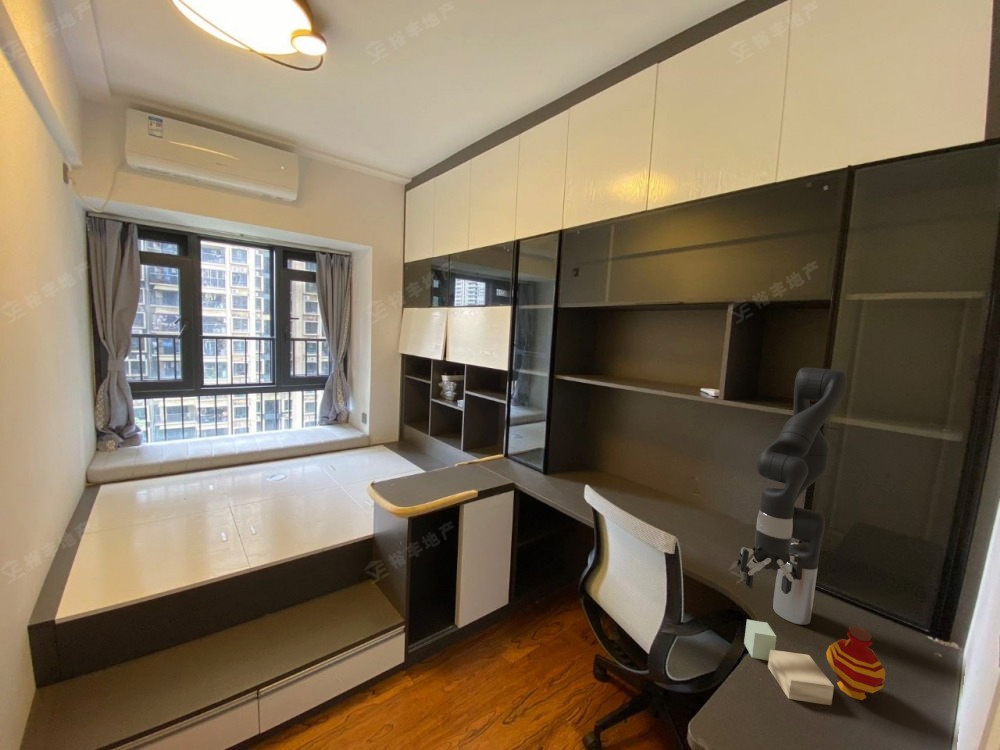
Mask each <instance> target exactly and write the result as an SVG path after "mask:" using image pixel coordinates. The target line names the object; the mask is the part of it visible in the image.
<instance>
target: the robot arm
mask: <svg viewBox="0 0 1000 750" xmlns="http://www.w3.org/2000/svg"><path fill="white" fill-rule="evenodd" d="M847 384H848V381H847V375H846V373H845V372H844V371H842V370H838V369H832V368H831V369H830V368H820V367H819V368H818V367H801V368H800V369H799V370H798V372H797V373H796V376H795V380H794V386H793V389H794V390H793V412H792V417H790V418H789V419H788V420H787V421H786V422H785V424H784V425H783V427H782V429H781V431H780V433H779V435H778V437H777V439H775V440H774V441H773V442H772V443H771V444H769V446H767V447H766V448H765V449H764V450H763V451H762V452H761V453H760V454H759V456H758V457H757V460H756V463H755V467H756V471H757V473H758V475H759V476H761V477H762V478H765V479H768V480H772V481H774V482H775V481H776V482H778V483H782V484H784V488H777V487H776V488H775V487H765V488H764V489H762V491H761V495H760V503H759V511H758V514H757V518H756V526H755V533H754V534H755V535H754V546H753V547H752V548H748V547H746V546H744V545H741V546H740V547H739V550H738V551H739V552H738V557H737V562H736V566H737V568H738V569H739V570H740V572H742V573H744V575H743V582H744V583H743V584H745V586H746V587H747V588H748V589H751V590H752V589H753V583H754V574H755V573H756V572H759V571H761V570H762V569H765V570H774V571H777V573H776V574H777V575H776V576H775V577H776V578H775V585H774V590H773V591H774V594H773V599H772V603H773V606H772V607H773V608H772V609H773V611H774V612H775V614H777V615H778V616H779V617H780V618H782V619H784V620H785V621H788V622H790V623H793V624H796V625H802V626H803V625H809V624H810V623H811V618H812V612H813V605H814V599H815V590H816V584H817V583H816V582H817V576H818V568H819V560H820V554H821V548H822V542H823V539H824V534H825V529H826V525H825V524H826V522H825V521H826V520H825V516H824V515H823V514H822V513H821V512H819V511H815V510H812V509H807V508H803V507H800V506H799V507H797V506H795V504H796V502H797V500H798V499H799V497H800V495H801V494H802V493H803V492H804V491H805V490H806V489H808V488H809V487H810V486H811V485H812V484H814V482H816V481H817V480H819V479H820V477H822V476H823V475H824V474H825V472H826V470H827V466H828V460H829V451H830V449H829V448H830V447H829V444H828V441H827V440H826V438H825V437H824V435H823V433H822V431H821V427H822V426H823V425H824V424H825V422H826V421H827V419H828V418H829V417H830V416H831V414H832V413H833V412H834V411H835V409H836V408H837V407H838V405H839V404H840V403H841V401H842V400H843V398H844V396H845V393H846V391H847ZM811 400H812V401H816V402H815V403H814V404H812V405H811V404H810V402H811ZM792 539H795V540H799V541H802V542H801V543H795V544H794V543H793V544H792ZM752 555H753V556H752ZM751 556H752V558H751ZM750 558H751V559H750ZM749 559H750V560H749ZM748 560H749V562H748Z"/></svg>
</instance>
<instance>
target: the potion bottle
mask: <svg viewBox="0 0 1000 750" xmlns="http://www.w3.org/2000/svg"><path fill="white" fill-rule="evenodd" d="M846 634H847V635H846V636H847V637H848V639H844V638H842V639H839V640H837V641H835V642H833V643H832V644H830V645H829V646H828V648H827V650H826V659H827V662H828V664H829V667H830V669H831V670H833V672H834V673H835V675H836V677H837V678H838V680H839V681H838V682H837V683H836V684H837V686H838V687H839V689H840V691H842V692H843V693H845V695H847V696H848V697H850V698H853V699H856V700H861V701H863V700H865V699H866V698H867V696H866V694H867V693H870V694H874V693H876V692H878V691H880V690H882V689H883V687H884V686H885V683H884V682H885V681H886V670H885V668H884V666H883V665H882V663H881V661H880V659H879V658H878V656H877V655H876V654H875V652H874V651H873V649H871V648H869V647H870V646H872V645H873V642H872V640H871V639H872V638H873V635H872V634H871V632H869V631H868V630H866V629H864V628H862V627H860V626H857V625H856V626H855V625H850V626H848V631H847V632H846Z"/></svg>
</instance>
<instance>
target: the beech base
mask: <svg viewBox="0 0 1000 750" xmlns="http://www.w3.org/2000/svg"><path fill="white" fill-rule="evenodd" d="M767 661H768V660H767ZM767 668H768V670H769V671H770V672H771V675H772V676H773V677H774V679H775V680H776V681H777V683H778V684H779V687H781V690H782V691H783V693H784V694H785V695H786V697H787V699H789V700H795V701H802V702H806V703H814V704H821V705H828V706H832V704H833V696H834V691H835V690H834V688H835V685H833V683H832V682H831V681H830V680H829V677H827V676H826V674H825V673H824V672H823V670H821V668H820V667H819V666H818V665H817V663H816V662H815V661H814V660H813V658H812V657H811V656H810V654H804V653H797V652H790V651H783V650H776V649H775V650H770V653H769V661H768V663H767Z"/></svg>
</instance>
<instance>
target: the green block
mask: <svg viewBox="0 0 1000 750" xmlns="http://www.w3.org/2000/svg"><path fill="white" fill-rule="evenodd" d="M744 632H745V633H744V640H743V641H744V642H743V644H744V646H745V648H746V649H747V651H748V653H749V655H750V657H751V658H752V659H756V660H763V661H769V653H770V650H776V642H777V635H776V634H775V632H774V630H773V629H772V627H771V626H770V625H769V623H768V622H766V621H765V622H764V621H758V620H752V619H746V625H745V631H744Z"/></svg>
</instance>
